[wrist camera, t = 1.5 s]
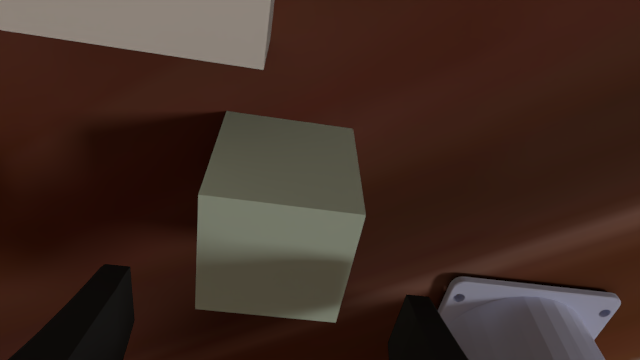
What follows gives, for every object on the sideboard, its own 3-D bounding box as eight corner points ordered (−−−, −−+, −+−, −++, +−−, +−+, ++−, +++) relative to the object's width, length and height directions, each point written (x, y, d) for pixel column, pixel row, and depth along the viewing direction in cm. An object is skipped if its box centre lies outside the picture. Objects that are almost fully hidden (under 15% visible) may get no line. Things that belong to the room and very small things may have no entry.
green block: (330, 224, 20) (335, 322, 15) (220, 210, 19) (195, 308, 15) (352, 128, 17) (365, 214, 13) (226, 110, 17) (197, 194, 12)
